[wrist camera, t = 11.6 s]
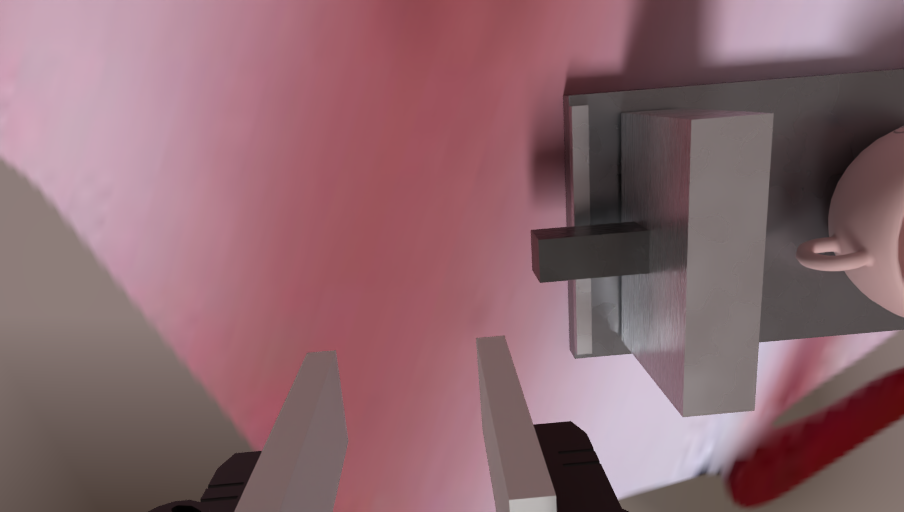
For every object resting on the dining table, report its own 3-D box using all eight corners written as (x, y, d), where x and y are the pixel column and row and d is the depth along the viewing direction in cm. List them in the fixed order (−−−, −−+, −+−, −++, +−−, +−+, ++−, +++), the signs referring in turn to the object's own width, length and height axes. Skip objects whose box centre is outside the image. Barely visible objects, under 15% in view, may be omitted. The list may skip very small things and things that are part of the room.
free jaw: (519, 120, 29) (553, 130, 21) (682, 108, 29) (774, 113, 22) (529, 348, 32) (562, 427, 25) (676, 335, 32) (754, 410, 25)
